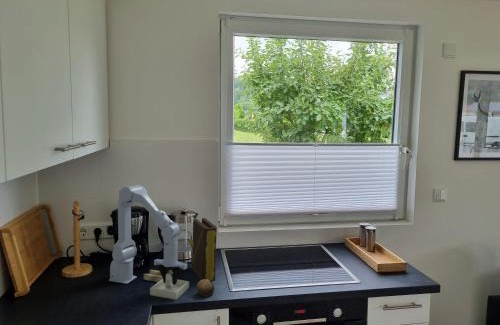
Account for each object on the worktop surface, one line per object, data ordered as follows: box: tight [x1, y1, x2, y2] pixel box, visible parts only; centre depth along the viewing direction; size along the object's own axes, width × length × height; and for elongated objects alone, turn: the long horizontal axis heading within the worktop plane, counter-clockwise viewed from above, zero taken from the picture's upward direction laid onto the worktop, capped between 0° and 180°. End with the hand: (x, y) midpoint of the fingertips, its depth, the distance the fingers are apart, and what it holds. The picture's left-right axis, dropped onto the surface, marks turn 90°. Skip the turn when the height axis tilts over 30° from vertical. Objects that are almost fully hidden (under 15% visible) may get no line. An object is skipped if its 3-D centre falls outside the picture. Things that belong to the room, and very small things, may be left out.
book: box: [189, 217, 218, 283], centre depth 181 cm, size 22×8×25 cm, turn 25°
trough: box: [143, 269, 163, 283], centre depth 173 cm, size 12×6×2 cm, turn 74°
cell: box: [165, 269, 175, 289], centre depth 160 cm, size 4×4×7 cm
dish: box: [149, 279, 190, 301], centre depth 161 cm, size 12×12×3 cm
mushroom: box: [196, 279, 215, 297], centre depth 160 cm, size 8×8×6 cm
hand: (170, 282), depth 161 cm, fingers closed on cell, 4 cm apart
